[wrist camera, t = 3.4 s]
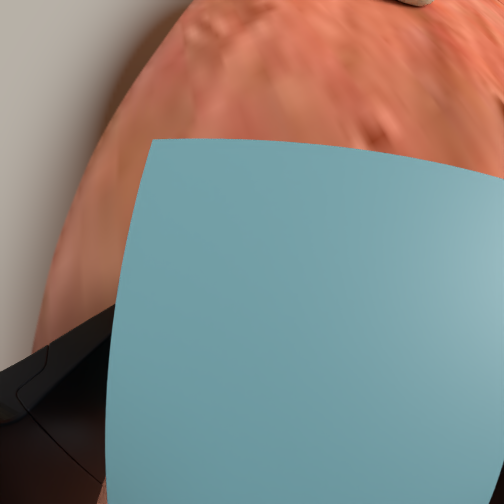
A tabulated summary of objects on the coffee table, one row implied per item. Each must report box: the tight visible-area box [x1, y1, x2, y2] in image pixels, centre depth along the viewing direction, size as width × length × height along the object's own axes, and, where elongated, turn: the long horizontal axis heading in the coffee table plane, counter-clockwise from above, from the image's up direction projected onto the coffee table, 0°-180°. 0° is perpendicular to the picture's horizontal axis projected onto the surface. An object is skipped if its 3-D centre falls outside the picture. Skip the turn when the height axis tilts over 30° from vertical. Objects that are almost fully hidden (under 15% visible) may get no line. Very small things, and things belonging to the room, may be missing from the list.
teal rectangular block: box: [105, 139, 504, 504], centre depth 8 cm, size 6×5×12 cm
